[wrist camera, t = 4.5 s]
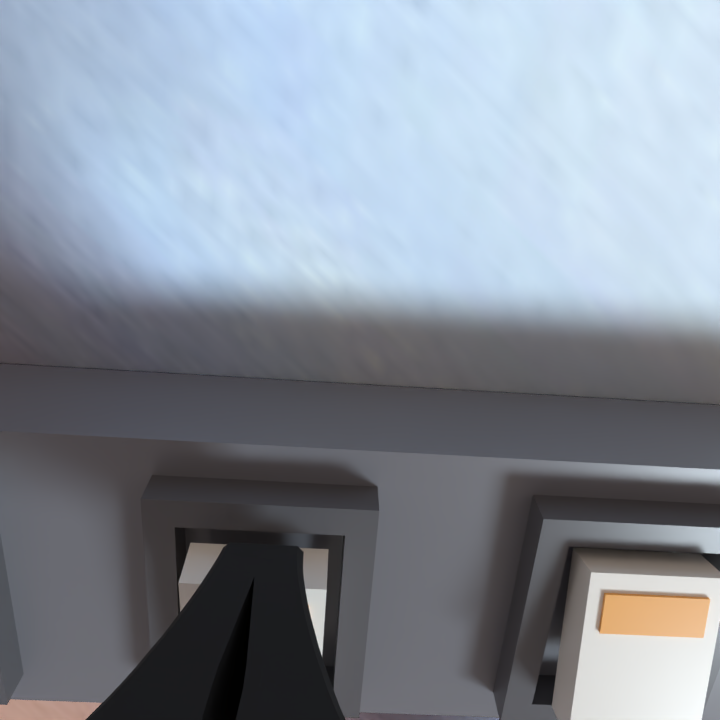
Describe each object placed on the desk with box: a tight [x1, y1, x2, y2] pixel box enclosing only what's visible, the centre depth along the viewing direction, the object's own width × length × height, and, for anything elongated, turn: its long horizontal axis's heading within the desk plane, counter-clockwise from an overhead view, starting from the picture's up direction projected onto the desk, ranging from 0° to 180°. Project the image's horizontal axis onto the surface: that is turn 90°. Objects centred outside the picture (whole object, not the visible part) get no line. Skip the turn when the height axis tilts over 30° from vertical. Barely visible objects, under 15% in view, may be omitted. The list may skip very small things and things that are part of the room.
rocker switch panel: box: [0, 364, 720, 720], centre depth 15 cm, size 32×7×4 cm, turn 86°
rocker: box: [552, 548, 720, 720], centre depth 13 cm, size 3×4×1 cm
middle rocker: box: [178, 543, 328, 655], centre depth 13 cm, size 3×4×1 cm
